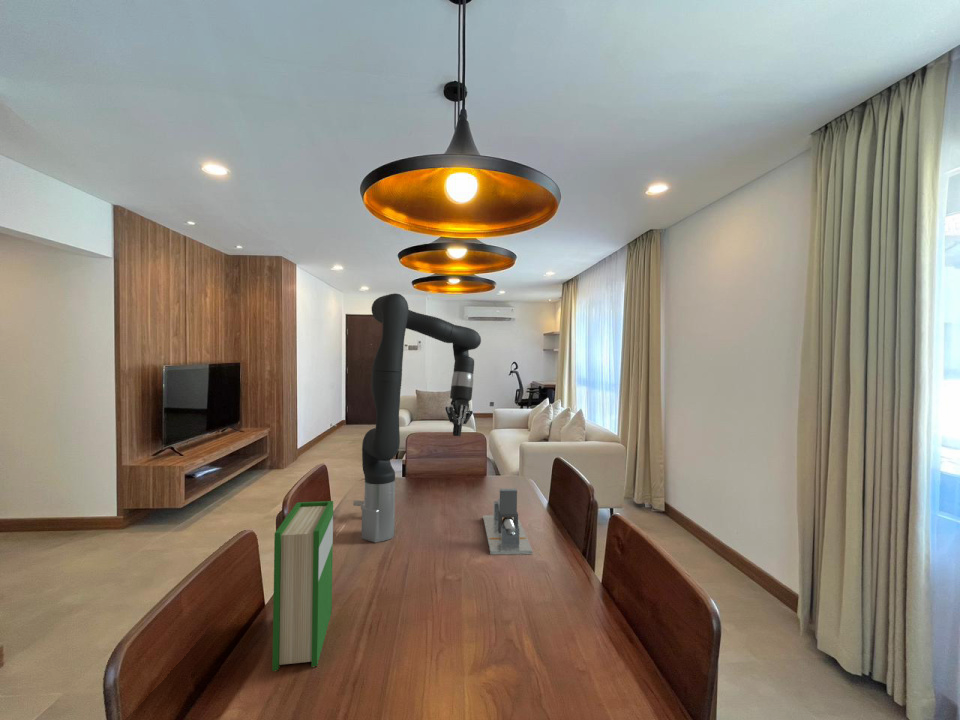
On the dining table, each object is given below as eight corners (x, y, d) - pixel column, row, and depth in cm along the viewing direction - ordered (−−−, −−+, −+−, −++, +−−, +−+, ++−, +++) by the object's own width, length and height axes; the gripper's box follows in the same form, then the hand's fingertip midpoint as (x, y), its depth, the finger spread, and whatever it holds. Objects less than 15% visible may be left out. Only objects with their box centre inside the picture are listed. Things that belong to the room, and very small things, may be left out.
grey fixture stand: (483, 518, 158) (483, 496, 158) (517, 517, 158) (517, 495, 158) (490, 554, 128) (490, 527, 128) (532, 554, 128) (532, 526, 128)
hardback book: (317, 667, 80) (319, 530, 80) (272, 671, 78) (274, 533, 79) (331, 612, 97) (333, 500, 97) (295, 615, 96) (297, 502, 96)
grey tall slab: (498, 531, 137) (498, 488, 137) (516, 530, 138) (517, 488, 138) (498, 533, 135) (499, 490, 135) (517, 533, 136) (518, 490, 136)
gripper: (458, 383, 150) (453, 435, 147) (481, 389, 161) (476, 438, 158) (441, 383, 155) (435, 434, 152) (465, 388, 165) (460, 436, 162)
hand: (456, 436), depth 155 cm, fingers closed
